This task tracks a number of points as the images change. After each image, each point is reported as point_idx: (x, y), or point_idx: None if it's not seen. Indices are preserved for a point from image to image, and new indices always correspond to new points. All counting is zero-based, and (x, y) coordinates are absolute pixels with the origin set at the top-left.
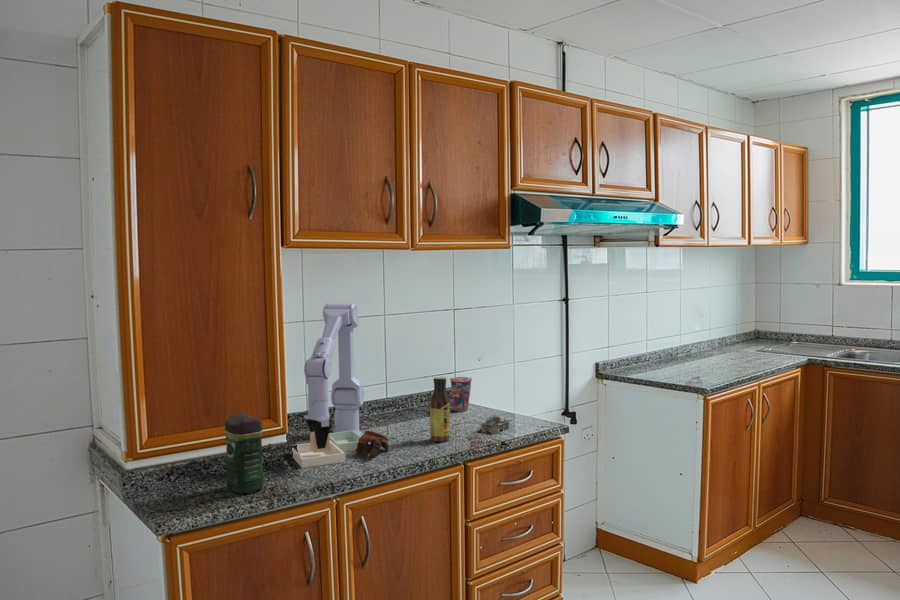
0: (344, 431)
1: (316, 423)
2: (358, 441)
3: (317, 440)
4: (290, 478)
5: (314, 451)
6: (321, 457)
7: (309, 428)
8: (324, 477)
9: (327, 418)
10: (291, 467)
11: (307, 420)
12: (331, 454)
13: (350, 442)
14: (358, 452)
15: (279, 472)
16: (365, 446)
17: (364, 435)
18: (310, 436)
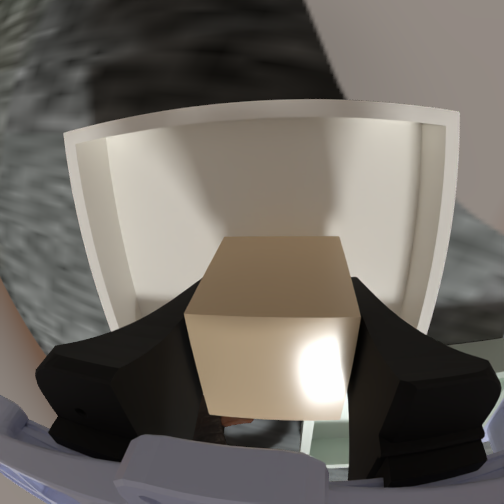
0: (483, 427)
1: (365, 439)
2: (305, 451)
3: (166, 306)
4: (25, 75)
5: (222, 243)
6: (89, 250)
7: (405, 339)
8: (12, 210)
9: (33, 494)
10: (166, 70)
11: (472, 397)
12: None
13: (308, 432)
14: (203, 411)
15: (110, 14)
16: None
17: None
18: (341, 290)
